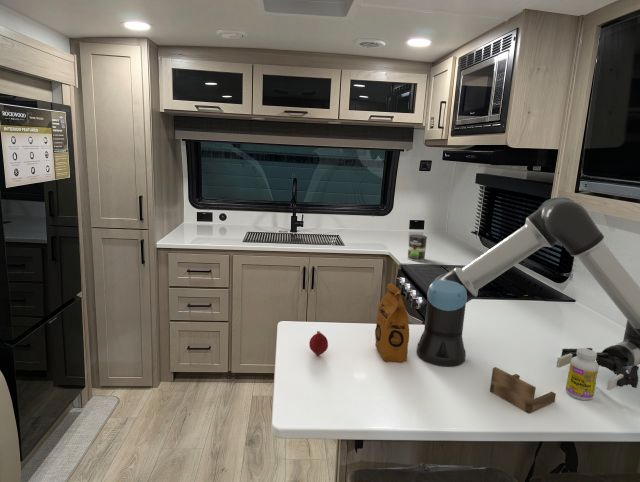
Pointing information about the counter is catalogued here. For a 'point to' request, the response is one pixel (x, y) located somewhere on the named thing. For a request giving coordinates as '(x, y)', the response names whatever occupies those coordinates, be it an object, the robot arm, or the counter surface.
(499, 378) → the u-shaped wooden bracket
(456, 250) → the counter surface
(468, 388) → the counter surface
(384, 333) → the coffee package
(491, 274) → the robot arm
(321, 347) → the onion
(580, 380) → the supplement bottle
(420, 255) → the coffee can
